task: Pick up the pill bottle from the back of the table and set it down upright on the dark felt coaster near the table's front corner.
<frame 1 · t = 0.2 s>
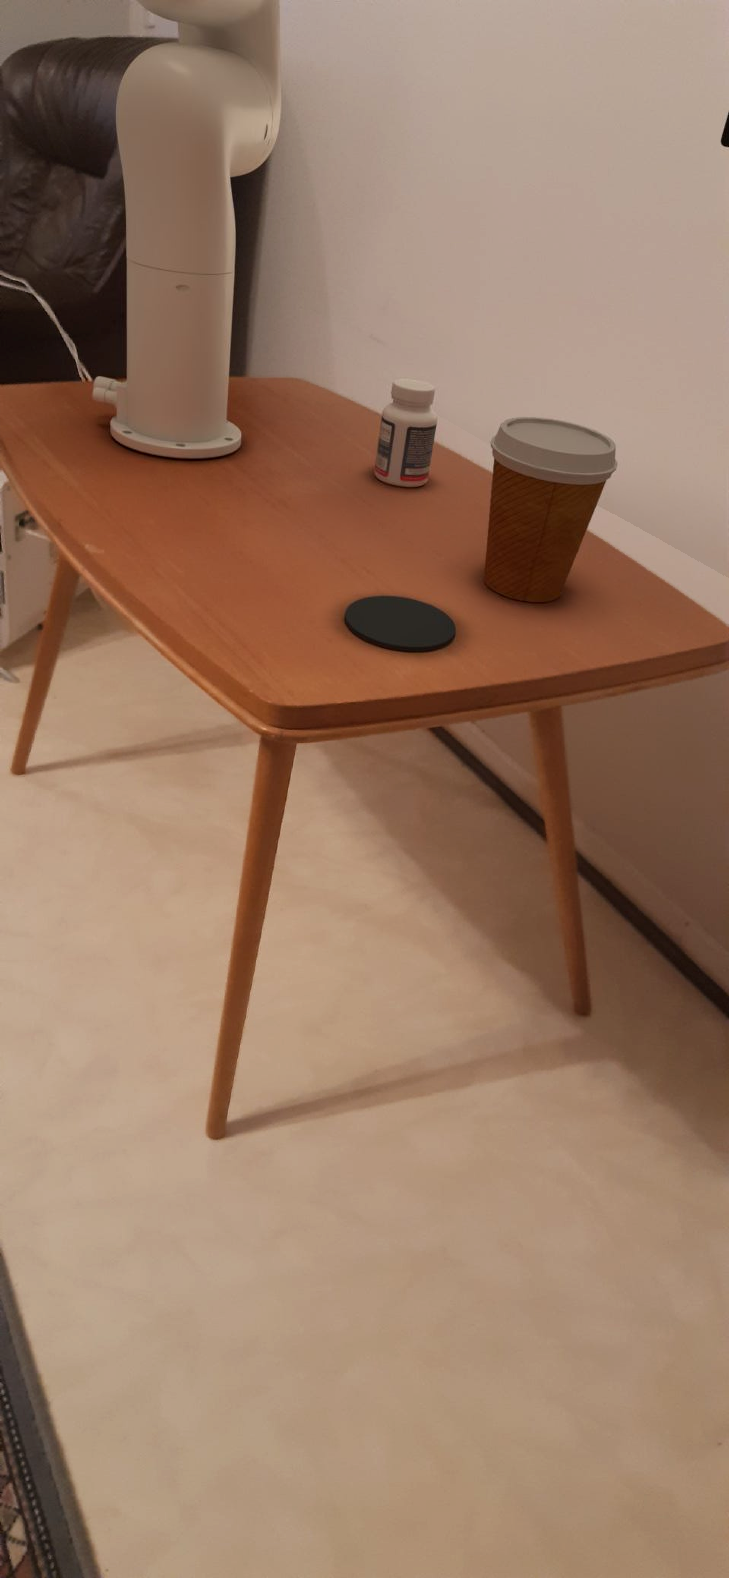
pill bottle: (400, 480, 100), on the table
corner coaster: (399, 625, 73), on the table
disposable coffee cup: (521, 587, 82), on the table
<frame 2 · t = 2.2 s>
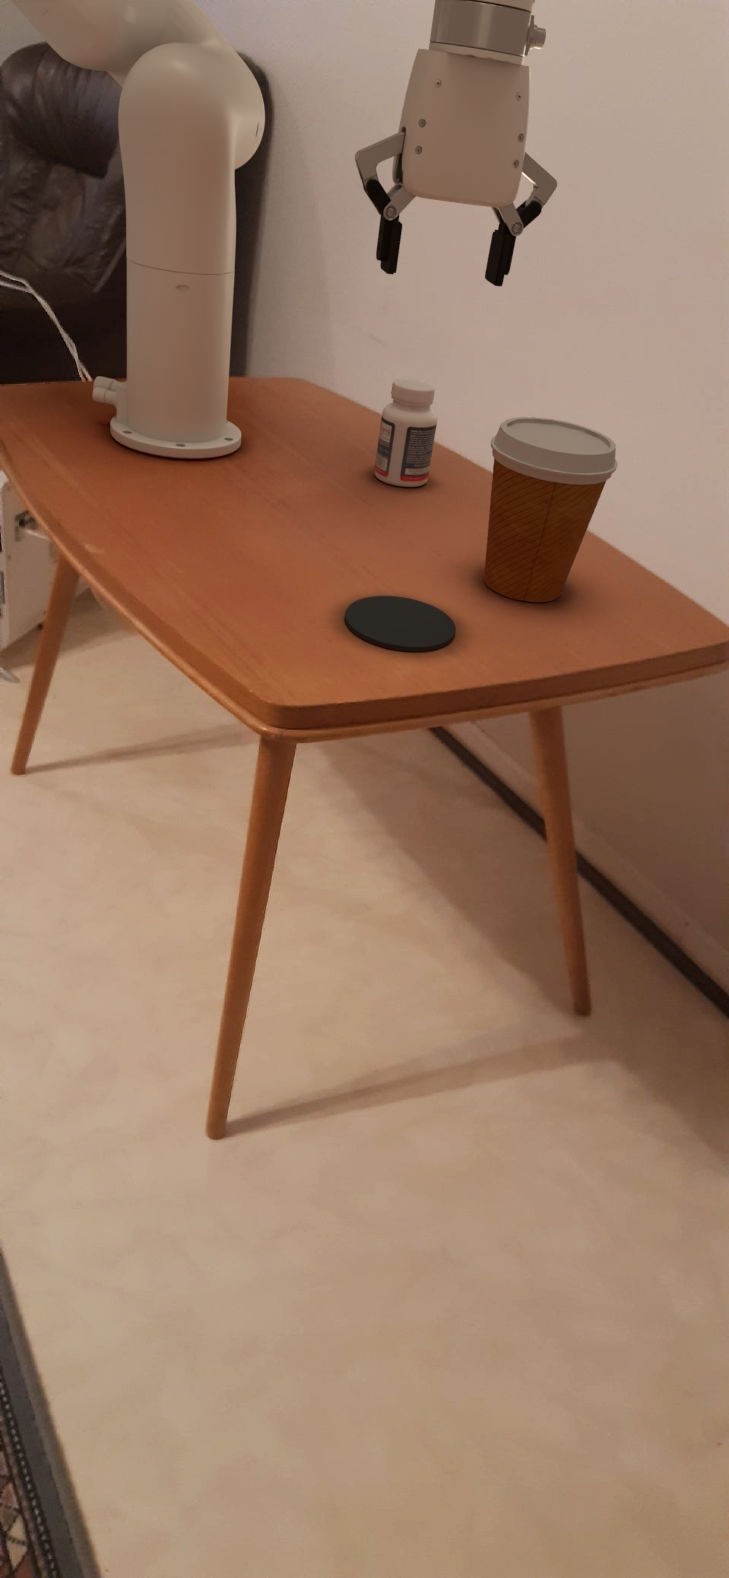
hand: (441, 277, 89), 18 cm above the table, tool pointing down, fingers open, 9 cm apart
nothing on the table moved.
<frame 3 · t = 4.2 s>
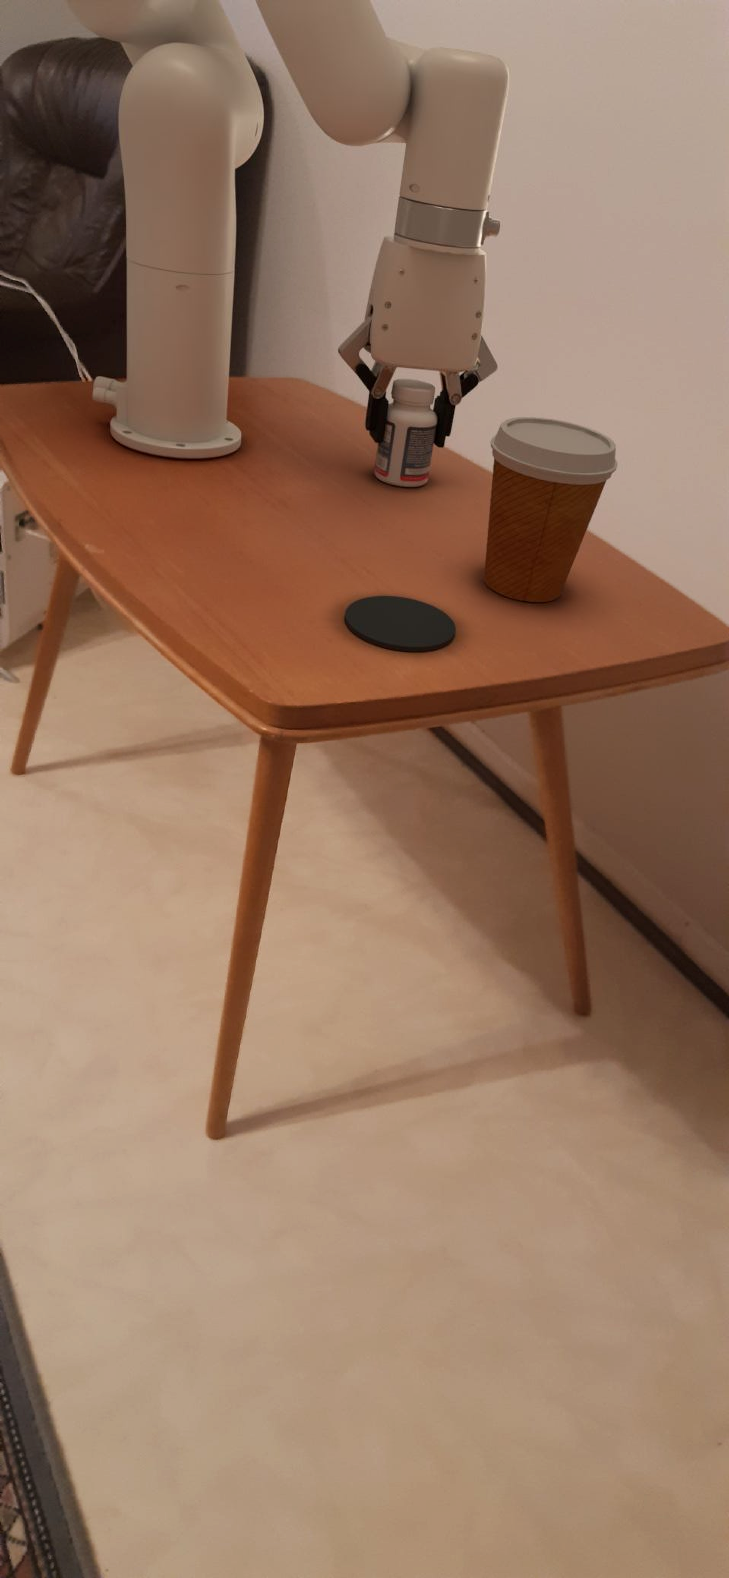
hand: (406, 439, 98), 4 cm above the table, tool pointing down, fingers closed on pill bottle, 5 cm apart
pill bottle: (400, 480, 100), on the table, touching gripper
everything else where it was.
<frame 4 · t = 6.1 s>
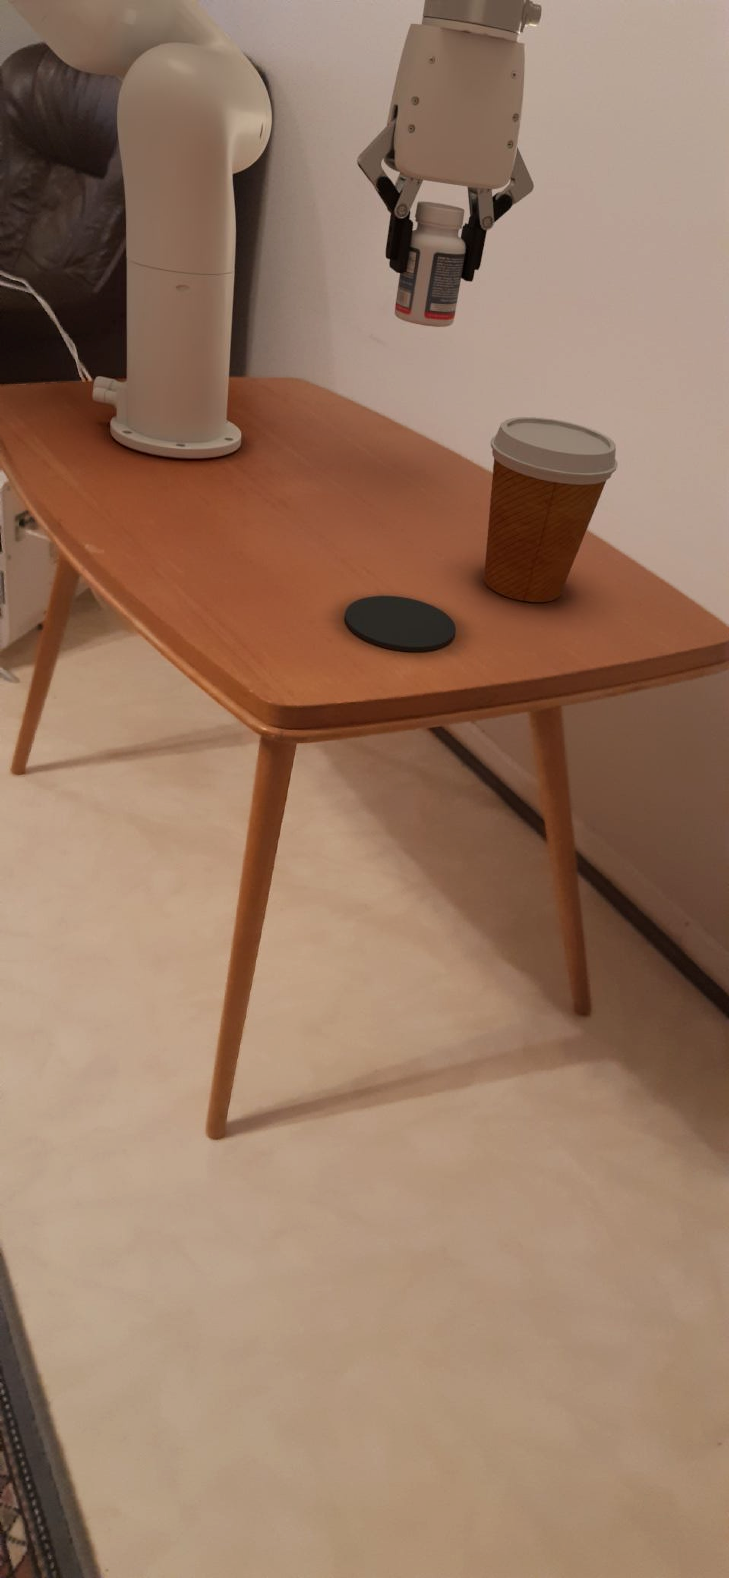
hand: (430, 272, 88), 19 cm above the table, tool pointing down, fingers closed on pill bottle, 5 cm apart
pill bottle: (422, 323, 90), point 15 cm above the table, touching gripper
everything else where it was.
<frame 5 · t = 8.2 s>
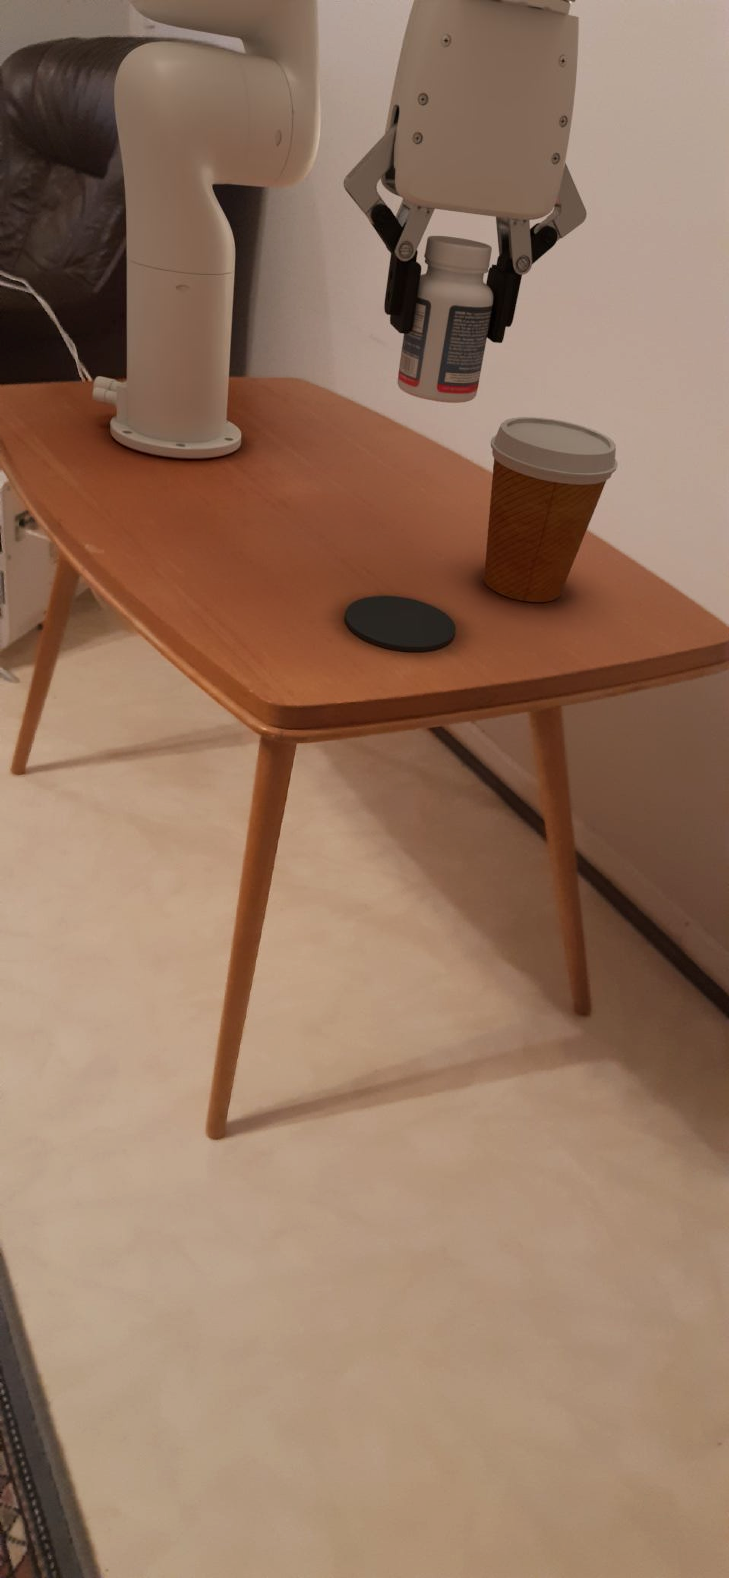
hand: (445, 330, 65), 19 cm above the table, tool pointing down, fingers closed on pill bottle, 5 cm apart
pill bottle: (435, 395, 67), point 15 cm above the table, touching gripper
everything else where it was.
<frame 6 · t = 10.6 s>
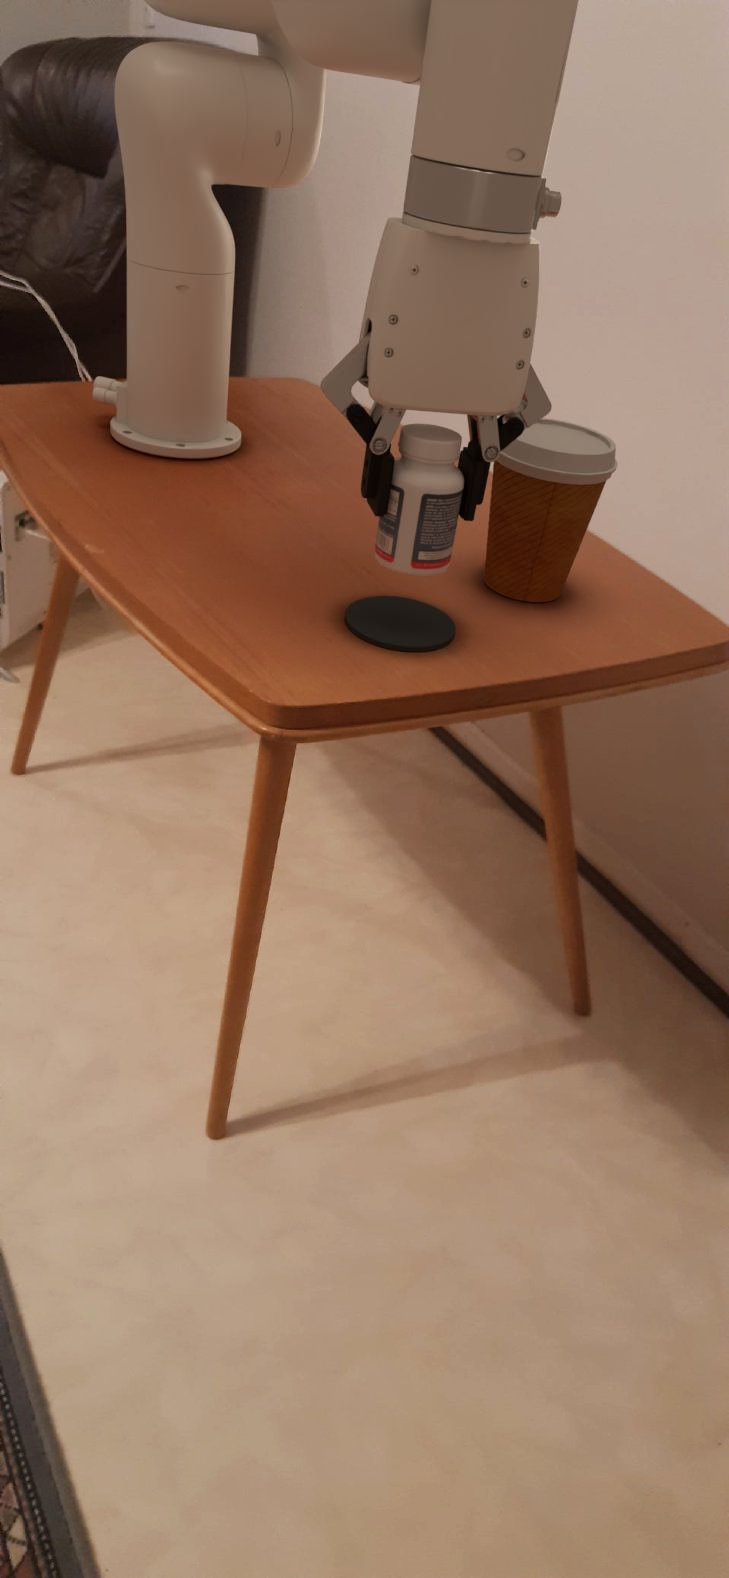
hand: (419, 508, 68), 9 cm above the table, tool pointing down, fingers closed on pill bottle, 5 cm apart
pill bottle: (410, 565, 71), point 5 cm above the table, touching gripper
everything else where it was.
when the fingers open (4 cm above the table, at t = 12.1 s): pill bottle stays where it is, resting on corner coaster.
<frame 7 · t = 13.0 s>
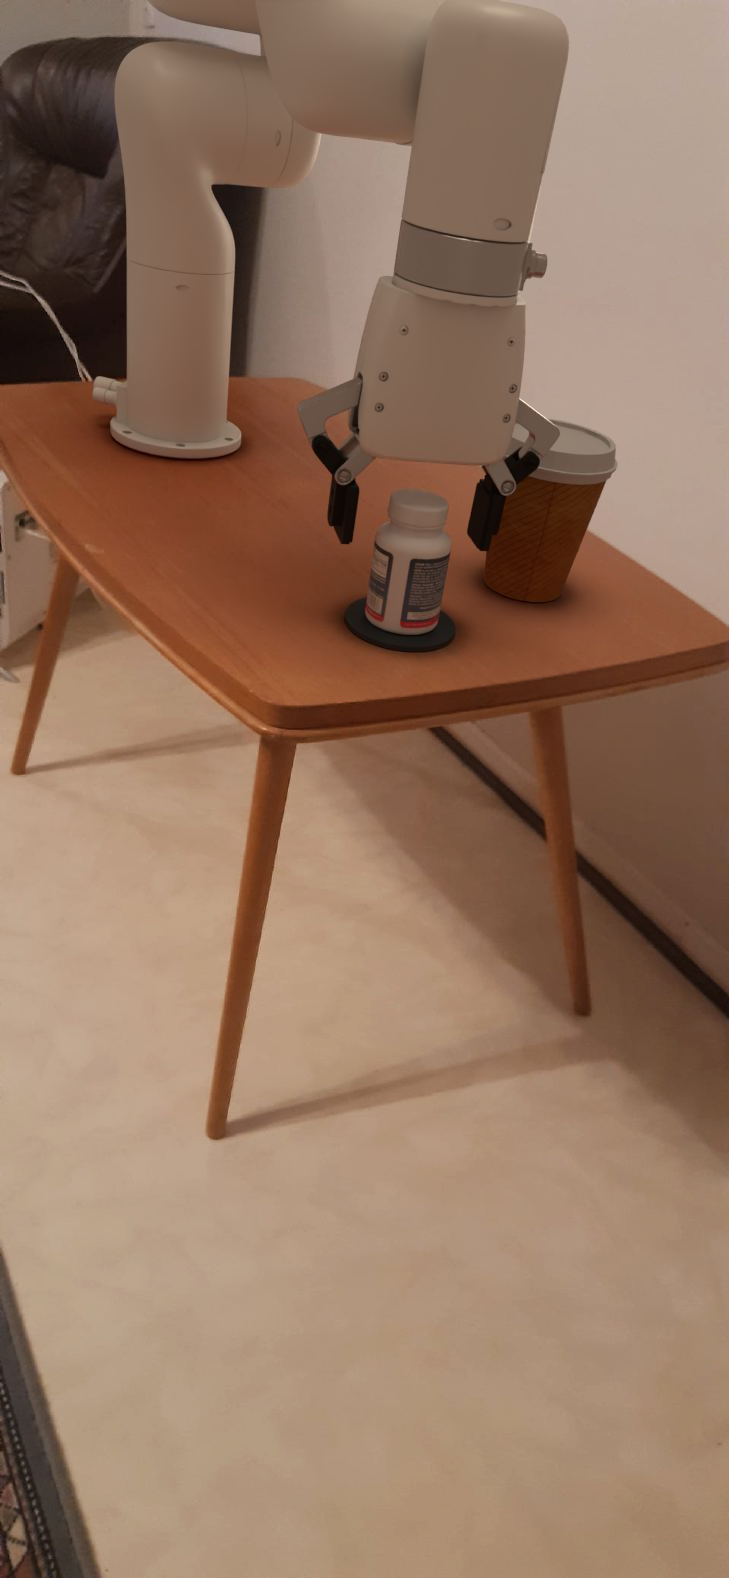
hand: (410, 539, 70), 6 cm above the table, tool pointing down, fingers open, 9 cm apart
pill bottle: (400, 622, 73), resting on corner coaster
everything else where it was.
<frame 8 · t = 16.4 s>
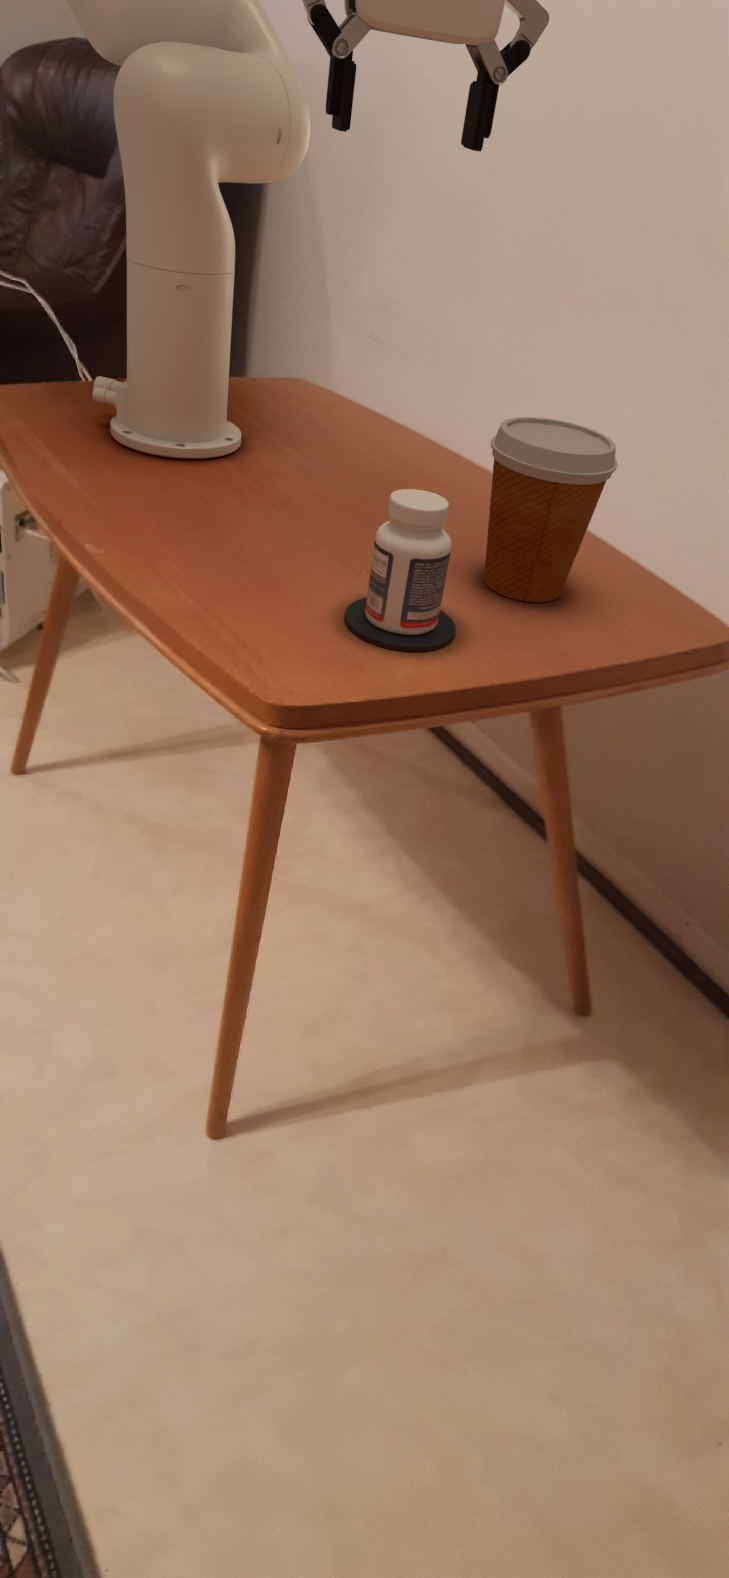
hand: (406, 139, 72), 28 cm above the table, tool pointing down, fingers open, 9 cm apart
nothing on the table moved.
at the end: pill bottle 0.0 cm off-centre on the corner coaster, point 0.2 cm above the corner coaster's base; pill bottle tilted 0°; the gripper is holding nothing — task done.
